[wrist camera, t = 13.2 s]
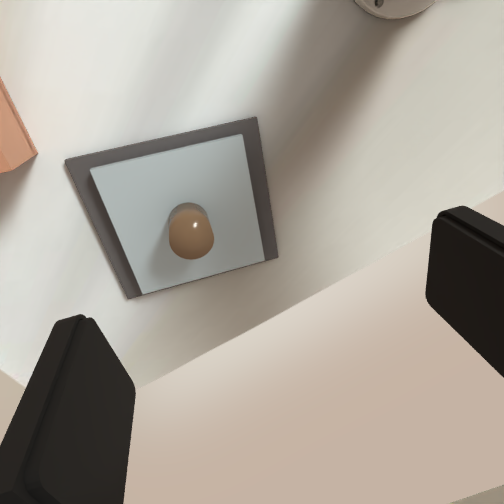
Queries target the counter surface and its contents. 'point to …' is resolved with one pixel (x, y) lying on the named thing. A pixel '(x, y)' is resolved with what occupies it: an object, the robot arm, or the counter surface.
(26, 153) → the open storage tray
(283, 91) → the counter surface
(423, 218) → the counter surface
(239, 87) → the counter surface
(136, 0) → the counter surface
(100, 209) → the mat
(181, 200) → the lid
